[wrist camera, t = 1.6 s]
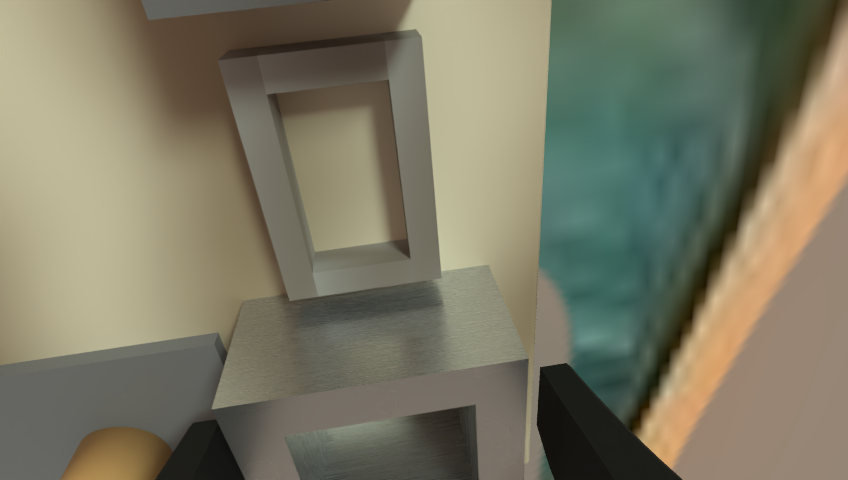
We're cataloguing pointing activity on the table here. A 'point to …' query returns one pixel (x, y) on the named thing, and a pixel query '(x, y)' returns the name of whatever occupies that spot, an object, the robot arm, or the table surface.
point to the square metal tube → (378, 384)
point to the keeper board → (260, 160)
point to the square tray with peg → (106, 409)
